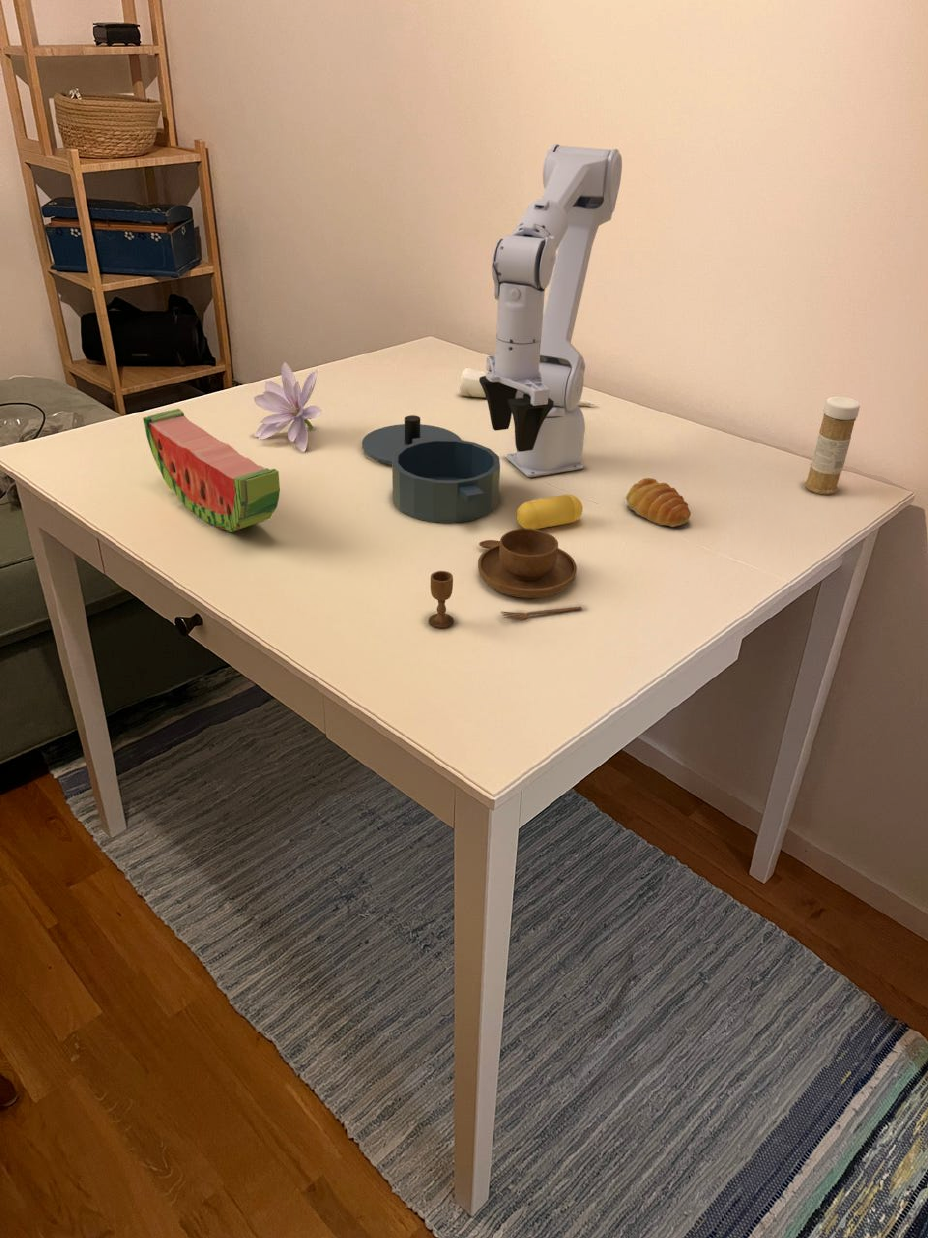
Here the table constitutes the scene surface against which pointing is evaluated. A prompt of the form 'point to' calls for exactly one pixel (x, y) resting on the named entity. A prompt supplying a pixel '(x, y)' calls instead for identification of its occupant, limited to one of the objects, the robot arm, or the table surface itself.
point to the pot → (445, 480)
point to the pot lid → (400, 438)
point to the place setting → (514, 571)
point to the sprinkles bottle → (832, 444)
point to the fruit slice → (211, 473)
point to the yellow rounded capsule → (549, 512)
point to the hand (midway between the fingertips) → (512, 439)
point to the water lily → (287, 407)
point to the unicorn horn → (474, 388)
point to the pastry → (658, 503)
